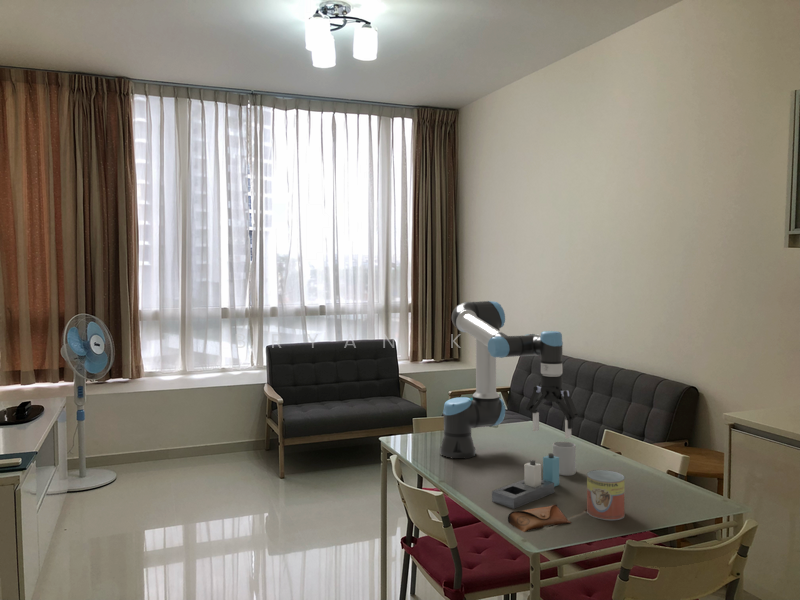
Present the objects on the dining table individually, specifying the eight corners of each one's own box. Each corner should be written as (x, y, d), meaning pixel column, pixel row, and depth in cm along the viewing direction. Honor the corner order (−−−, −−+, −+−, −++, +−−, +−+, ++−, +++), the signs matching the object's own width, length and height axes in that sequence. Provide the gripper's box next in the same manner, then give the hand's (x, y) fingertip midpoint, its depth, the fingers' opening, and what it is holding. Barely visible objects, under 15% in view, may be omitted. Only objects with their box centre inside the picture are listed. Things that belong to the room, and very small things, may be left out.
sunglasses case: (523, 532, 173) (516, 509, 176) (511, 536, 179) (505, 513, 182) (573, 522, 180) (566, 500, 183) (561, 526, 186) (554, 505, 188)
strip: (513, 510, 190) (513, 498, 190) (492, 502, 197) (491, 491, 196) (554, 494, 204) (554, 482, 204) (532, 487, 211) (532, 476, 211)
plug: (543, 484, 212) (543, 453, 212) (549, 482, 215) (549, 451, 215) (552, 487, 209) (552, 456, 209) (559, 485, 212) (559, 454, 212)
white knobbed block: (524, 493, 204) (524, 460, 203) (531, 490, 206) (531, 458, 206) (534, 496, 201) (533, 463, 200) (541, 493, 203) (541, 461, 203)
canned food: (582, 515, 186) (582, 477, 185) (592, 503, 195) (592, 467, 195) (619, 523, 179) (619, 484, 179) (628, 511, 189) (628, 473, 188)
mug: (579, 475, 223) (579, 446, 223) (558, 477, 222) (558, 448, 221) (565, 465, 235) (565, 438, 235) (545, 467, 234) (544, 439, 233)
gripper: (516, 372, 218) (516, 429, 219) (576, 380, 199) (576, 442, 200) (529, 370, 223) (529, 426, 224) (588, 377, 204) (588, 438, 205)
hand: (551, 434), depth 212 cm, fingers open, 13 cm apart
